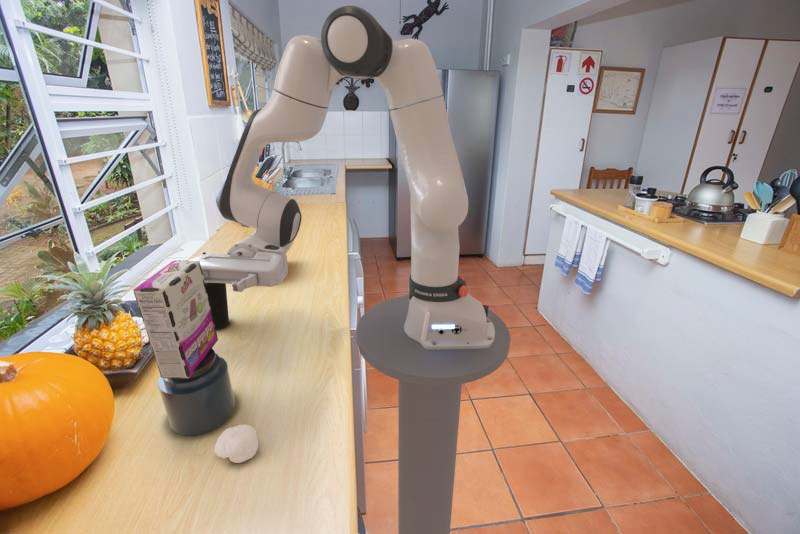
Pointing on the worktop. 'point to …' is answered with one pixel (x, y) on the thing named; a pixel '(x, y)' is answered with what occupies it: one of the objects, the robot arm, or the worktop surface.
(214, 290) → the drinking cup
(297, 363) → the worktop surface
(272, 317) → the worktop surface
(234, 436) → the dumpling
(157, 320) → the candy bar box
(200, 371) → the jar
